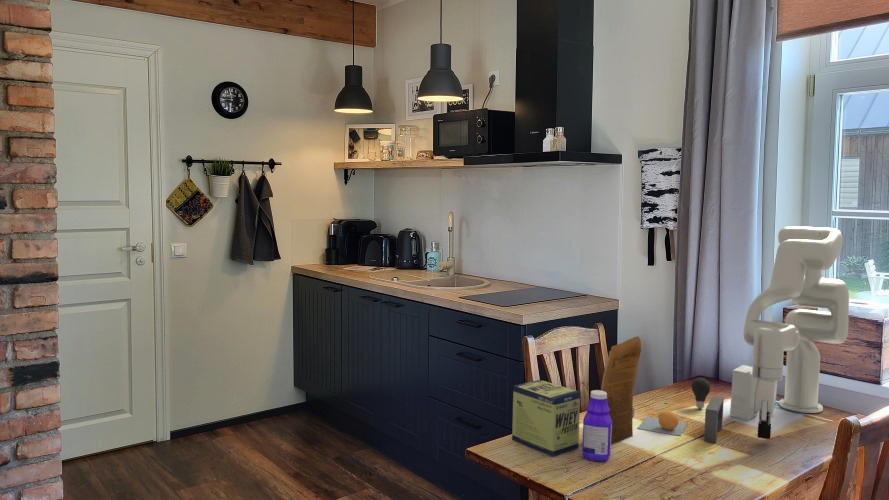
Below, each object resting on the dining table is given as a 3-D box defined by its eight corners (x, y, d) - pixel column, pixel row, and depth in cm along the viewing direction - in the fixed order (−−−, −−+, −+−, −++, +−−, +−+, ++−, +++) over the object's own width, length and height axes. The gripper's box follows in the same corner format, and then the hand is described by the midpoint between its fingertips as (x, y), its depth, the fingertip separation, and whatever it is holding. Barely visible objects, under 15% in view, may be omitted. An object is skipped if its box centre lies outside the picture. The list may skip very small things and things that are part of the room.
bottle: (611, 456, 182) (614, 390, 180) (609, 464, 176) (611, 396, 175) (583, 452, 184) (585, 387, 183) (580, 460, 179) (582, 393, 177)
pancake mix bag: (646, 434, 199) (650, 336, 196) (607, 450, 186) (611, 346, 183) (625, 428, 204) (629, 332, 201) (586, 443, 191) (589, 342, 188)
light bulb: (710, 412, 219) (712, 380, 218) (691, 411, 220) (693, 379, 219) (707, 406, 225) (709, 376, 224) (689, 405, 226) (690, 375, 225)
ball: (673, 405, 205) (682, 423, 204) (655, 412, 206) (664, 430, 206) (672, 409, 200) (681, 427, 199) (654, 417, 201) (663, 435, 200)
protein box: (553, 457, 181) (554, 398, 179) (511, 440, 193) (512, 384, 191) (580, 448, 187) (581, 391, 186) (537, 432, 199) (538, 378, 198)
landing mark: (646, 417, 214) (646, 416, 214) (687, 423, 208) (687, 423, 208) (637, 428, 203) (637, 428, 203) (680, 436, 197) (680, 435, 197)
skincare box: (739, 410, 221) (741, 364, 220) (759, 414, 217) (761, 367, 216) (729, 416, 215) (731, 369, 214) (749, 421, 211) (751, 372, 210)
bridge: (704, 441, 193) (705, 409, 192) (711, 426, 206) (712, 395, 205) (715, 443, 192) (717, 410, 191) (722, 428, 205) (723, 397, 204)
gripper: (754, 364, 199) (751, 427, 201) (749, 376, 186) (746, 443, 188) (783, 367, 196) (780, 431, 197) (781, 380, 183) (777, 448, 184)
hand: (763, 437), depth 193 cm, fingers closed
